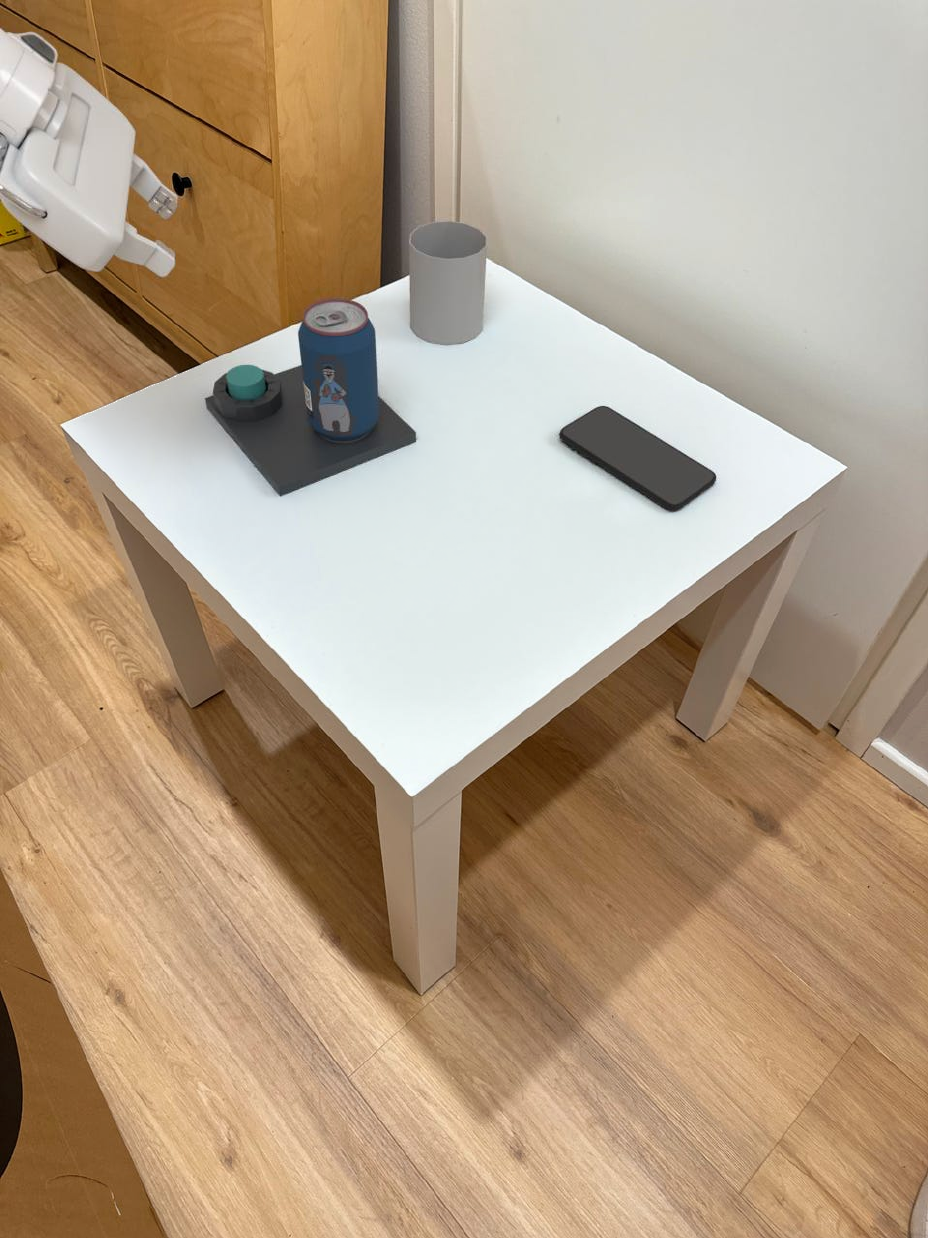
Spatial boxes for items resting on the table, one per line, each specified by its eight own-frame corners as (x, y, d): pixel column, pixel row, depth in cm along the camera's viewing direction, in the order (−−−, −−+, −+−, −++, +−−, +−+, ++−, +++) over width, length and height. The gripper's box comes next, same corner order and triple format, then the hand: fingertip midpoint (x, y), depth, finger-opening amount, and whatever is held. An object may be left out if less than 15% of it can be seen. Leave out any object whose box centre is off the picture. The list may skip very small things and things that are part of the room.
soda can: (364, 397, 92) (358, 288, 83) (390, 437, 88) (386, 326, 79) (299, 413, 90) (285, 302, 81) (322, 454, 86) (310, 343, 77)
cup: (399, 312, 105) (397, 228, 98) (463, 298, 108) (466, 215, 100) (428, 351, 100) (428, 265, 93) (495, 335, 103) (500, 250, 95)
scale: (280, 496, 84) (276, 471, 82) (205, 406, 93) (200, 381, 90) (416, 441, 90) (416, 416, 88) (334, 361, 99) (332, 337, 96)
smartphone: (675, 510, 84) (554, 431, 90) (673, 517, 84) (553, 438, 91) (722, 474, 87) (602, 401, 94) (719, 482, 88) (601, 408, 94)
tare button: (238, 405, 89) (236, 389, 87) (222, 386, 91) (219, 371, 89) (272, 393, 90) (270, 378, 89) (255, 375, 92) (253, 360, 91)
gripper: (1, 135, 56) (195, 274, 65) (39, 24, 69) (196, 153, 78) (-48, 211, 59) (144, 335, 67) (-2, 90, 72) (154, 207, 80)
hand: (172, 236), depth 73 cm, fingers open, 8 cm apart
